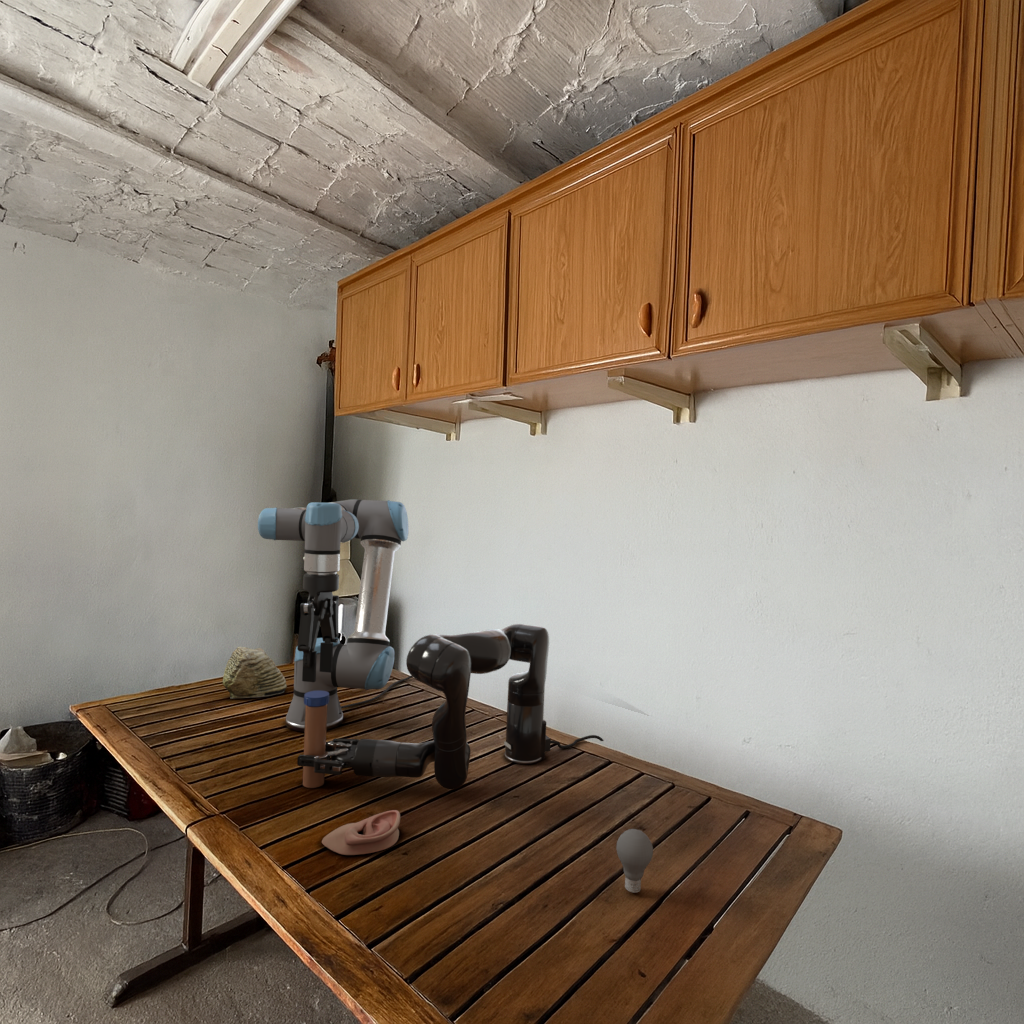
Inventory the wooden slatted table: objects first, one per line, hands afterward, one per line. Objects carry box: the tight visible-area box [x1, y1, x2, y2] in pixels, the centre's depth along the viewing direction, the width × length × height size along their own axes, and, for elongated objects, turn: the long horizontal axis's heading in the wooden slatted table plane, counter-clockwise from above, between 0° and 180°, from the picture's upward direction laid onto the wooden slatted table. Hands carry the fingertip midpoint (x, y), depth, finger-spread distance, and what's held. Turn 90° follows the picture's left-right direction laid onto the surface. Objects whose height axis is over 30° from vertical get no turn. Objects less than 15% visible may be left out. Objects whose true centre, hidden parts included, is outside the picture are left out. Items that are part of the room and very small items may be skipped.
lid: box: [304, 691, 330, 707], centre depth 139 cm, size 5×5×2 cm
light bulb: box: [615, 828, 654, 894], centre depth 106 cm, size 6×6×10 cm
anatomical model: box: [321, 809, 401, 856], centre depth 118 cm, size 13×4×12 cm
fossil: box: [222, 646, 288, 699], centre depth 198 cm, size 9×18×15 cm, turn 132°
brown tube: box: [302, 705, 327, 789], centre depth 140 cm, size 5×5×19 cm
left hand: (317, 676), depth 139 cm, fingers open, 7 cm apart
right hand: (304, 753), depth 140 cm, fingers open, 6 cm apart
